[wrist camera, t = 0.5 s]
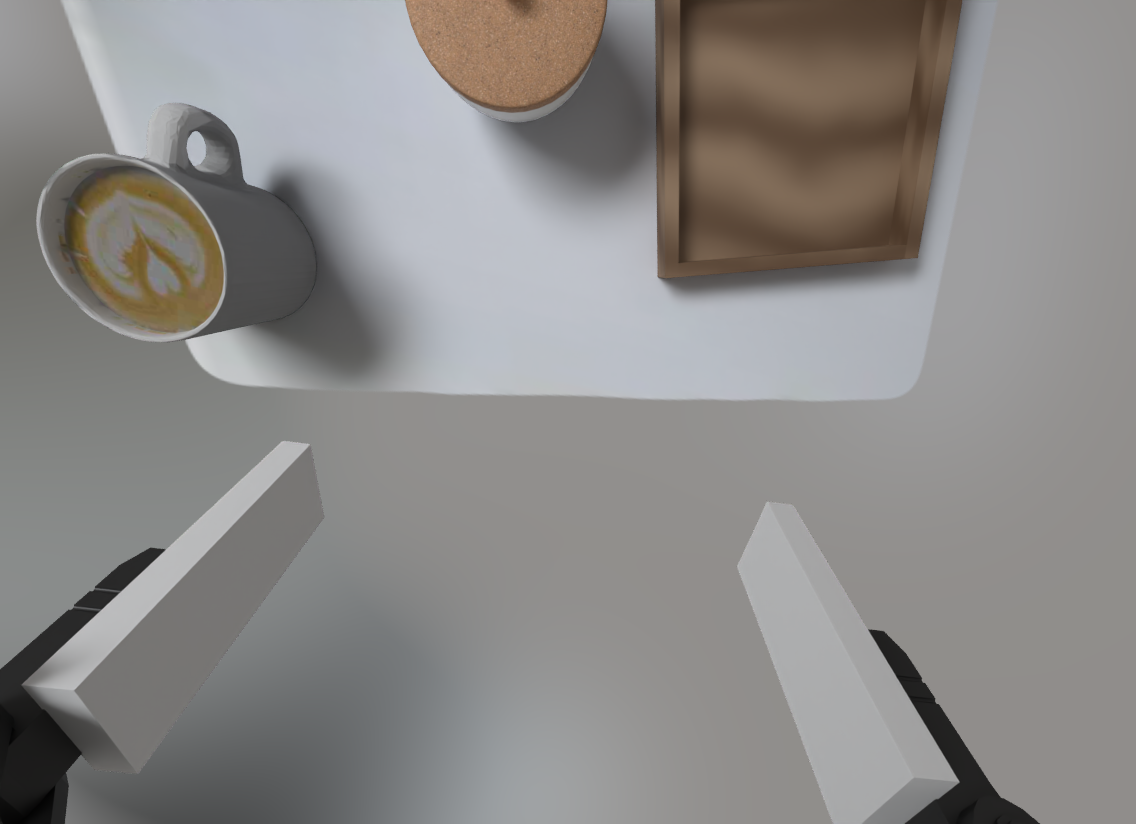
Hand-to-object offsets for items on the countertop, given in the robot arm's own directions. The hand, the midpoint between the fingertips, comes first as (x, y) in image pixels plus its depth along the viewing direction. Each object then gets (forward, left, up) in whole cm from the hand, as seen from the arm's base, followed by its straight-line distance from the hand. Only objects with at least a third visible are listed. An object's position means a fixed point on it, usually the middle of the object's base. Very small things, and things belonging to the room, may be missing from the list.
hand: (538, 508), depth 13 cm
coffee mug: (-10, -21, -26) cm, 35 cm away
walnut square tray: (-14, +19, -25) cm, 35 cm away
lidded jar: (-20, 0, -26) cm, 33 cm away
